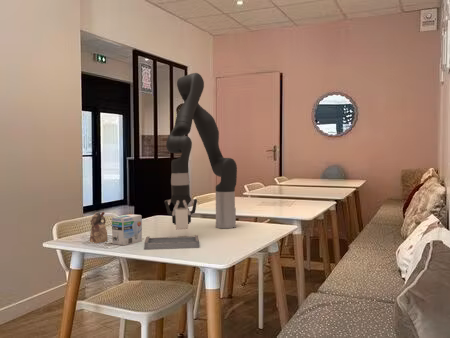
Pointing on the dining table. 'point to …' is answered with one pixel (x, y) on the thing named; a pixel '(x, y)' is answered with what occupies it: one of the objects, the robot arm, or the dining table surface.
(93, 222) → the figurine
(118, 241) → the light bulb box
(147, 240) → the grey flat rectangular frame
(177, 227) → the block
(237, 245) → the dining table surface
